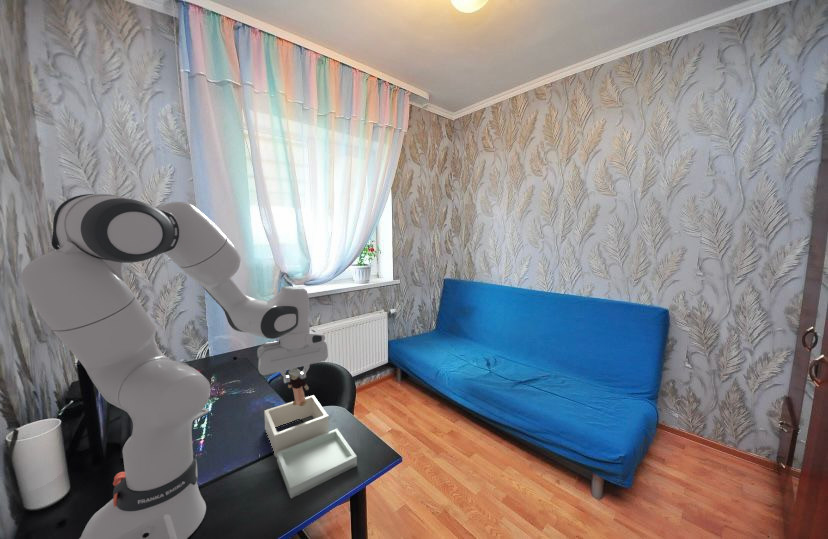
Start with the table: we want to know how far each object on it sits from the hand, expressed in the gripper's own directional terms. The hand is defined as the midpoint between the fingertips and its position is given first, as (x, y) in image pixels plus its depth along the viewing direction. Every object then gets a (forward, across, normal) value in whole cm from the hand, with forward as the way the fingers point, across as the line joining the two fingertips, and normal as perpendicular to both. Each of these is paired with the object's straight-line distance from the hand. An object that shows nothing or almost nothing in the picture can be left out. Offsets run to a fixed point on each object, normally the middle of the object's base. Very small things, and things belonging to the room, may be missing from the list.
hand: (294, 379), depth 94 cm
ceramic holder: (+19, 0, 0) cm, 19 cm away
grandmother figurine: (+9, +2, 0) cm, 9 cm away
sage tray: (+19, +1, -16) cm, 25 cm away
